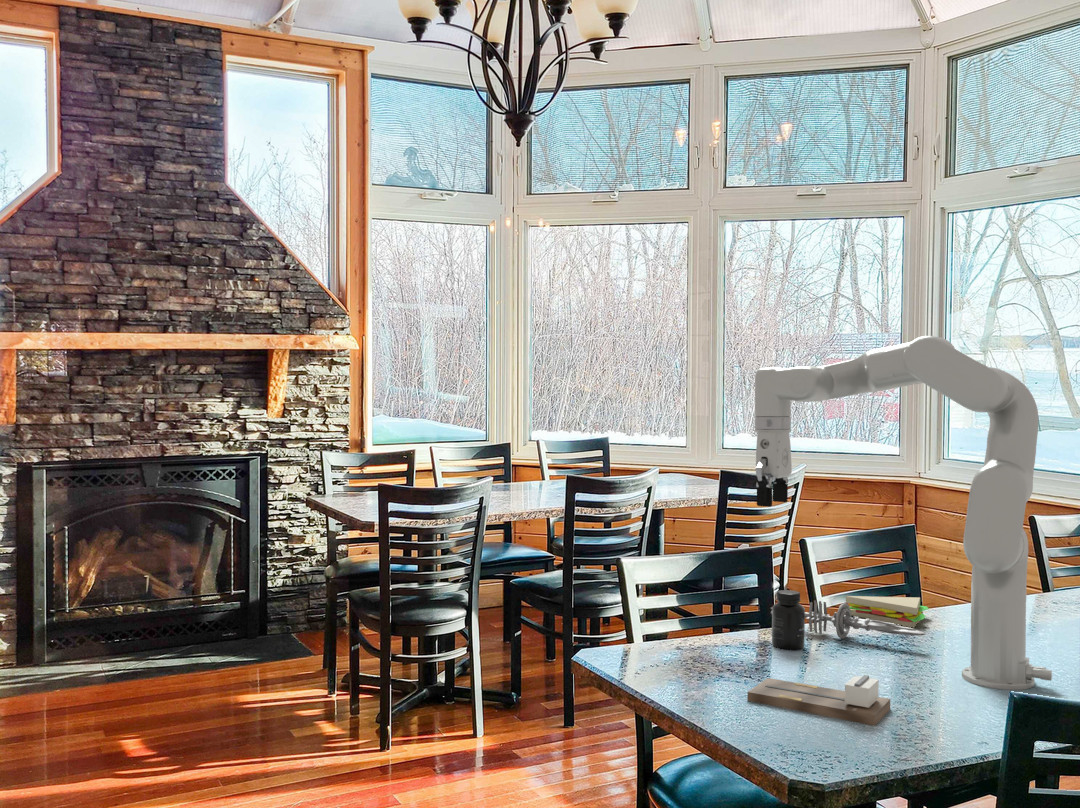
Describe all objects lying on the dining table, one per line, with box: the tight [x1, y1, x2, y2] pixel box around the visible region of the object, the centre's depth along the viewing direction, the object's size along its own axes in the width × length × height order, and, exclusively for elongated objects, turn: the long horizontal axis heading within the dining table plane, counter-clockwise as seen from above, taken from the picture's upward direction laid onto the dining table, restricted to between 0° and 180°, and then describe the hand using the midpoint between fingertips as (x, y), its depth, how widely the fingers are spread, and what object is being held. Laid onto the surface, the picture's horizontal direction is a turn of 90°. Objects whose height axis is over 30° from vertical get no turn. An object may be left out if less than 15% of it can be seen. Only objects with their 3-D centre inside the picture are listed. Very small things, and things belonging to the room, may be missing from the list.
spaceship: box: [769, 600, 926, 640], centre depth 215 cm, size 8×35×8 cm, turn 51°
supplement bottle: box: [771, 589, 806, 651], centre depth 208 cm, size 7×7×12 cm
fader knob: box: [844, 674, 879, 708], centre depth 165 cm, size 4×6×4 cm, turn 146°
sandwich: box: [845, 595, 930, 629], centre depth 235 cm, size 15×20×5 cm
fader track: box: [747, 677, 891, 726], centre depth 169 cm, size 22×10×2 cm, turn 56°
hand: (772, 503), depth 209 cm, fingers open, 9 cm apart
